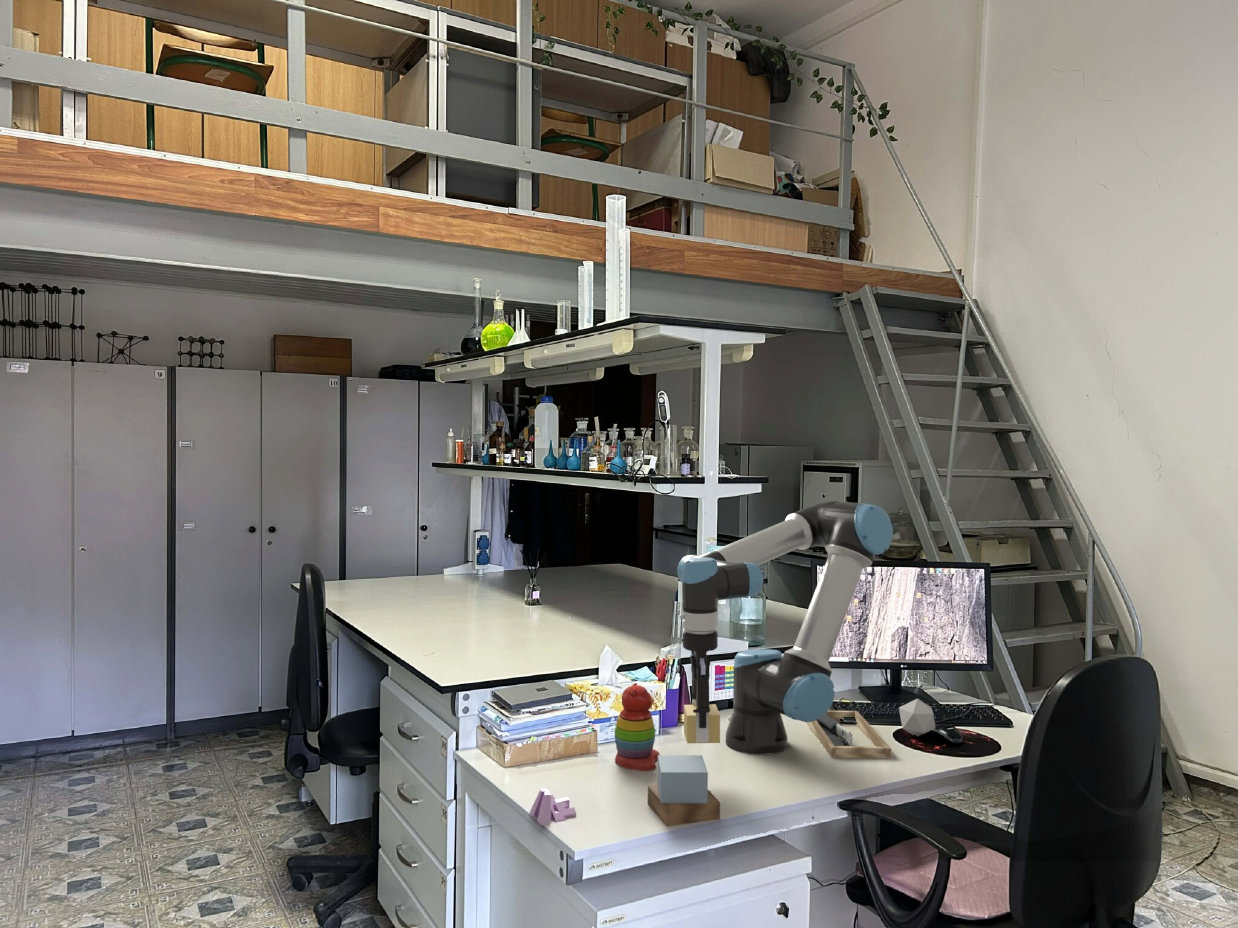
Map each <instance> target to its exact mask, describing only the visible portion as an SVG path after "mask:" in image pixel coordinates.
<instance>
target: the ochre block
mask: <svg viewBox="0 0 1238 928" xmlns="http://www.w3.org/2000/svg"><path fill="white" fill-rule="evenodd" d="M696 708H697V706H696V705H692V704H683V733H684V737H685V740H686V744H721V714H720V711H719V710H718V707H717V704H715V703H714V704H710V703H709V708H710V712H709V742H696V713H693V710H696Z"/></svg>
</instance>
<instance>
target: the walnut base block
mask: <svg viewBox="0 0 1238 928" xmlns="http://www.w3.org/2000/svg"><path fill="white" fill-rule="evenodd" d="M647 805H648V806H649V808H650V809H651V810H652V811H653V812H654V814H655V815H656V816H657V817H658V818H659V820H660V821H661V822H662V823H663V824H664V825H665V826H666V827H671V826H679V825H680V826H681V825H686V824H694V823H702V822H708V821H709V822H710V821H717V820H718V821H719V820H720V819H721V801H720V800H719V799H718V798H717V797H716V796H715V795H714V794H713V793H712V792H711V791H710V790H709V789H708V795H707V803H661V802H660V796H659V791H658V785H657V784H651V785H647Z"/></svg>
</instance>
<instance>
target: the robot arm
mask: <svg viewBox="0 0 1238 928" xmlns="http://www.w3.org/2000/svg"><path fill="white" fill-rule="evenodd" d="M893 531H894V529H893V524H892V523H891V518H890V516H889V515H888V512H887V511H885V509H883V508H882V507H880V506H878V505H876V504H870V503H867V502H862V503H861V502H859V503H858V502H850V501H849V502H848V501H847V502H846V501H837V500H827V501H823V502H819V503H815V504H813V505H810V506H807V507H805V508H803V509H800V510H797V511H794V512H793V513H789V514H788V515H787V516H786V518H785V520H784V521H781V522H779V523H777V524H774V525H771V526H769V527H766V528H765V529H762V530H760V531H757V532H755V533H752V534H750V535H748V536H746V537H743V538H741V539H738V540H737V541H734V542H731V543H729V544H727V545H724V546H722V547H719V548H717V549H715V550H712V551H709V552H707V553H704V554H702V555H698V554H689V555H685V556H683V557H682V558H681V560H680V561H679V562H678V565H677V570H676V571H677V576H678V580H680V582H681V587H682V588H681V593H682V596H681V597H682V614H680V615H679V619H680V620H682V628H683V631H682V648H683V649H685V650H686V651H689V652H690V656H689V657H690V659H689V660H690V665H691V667H690V671H691V689H690V690H691V693H692V694H691V697H692V702H691V705H696V706H697V708H696V710H693V713H696V742H709V712H710V708H709V704H710V666H711V658H709V654H707V653H708V652H710V651H712V652H713V651H714V650H716V649H717V648H718V643H719V642H718V640H719V639H718V638H719V637H718V636H719V635H718V631H717V629H718V628H719V627H718V625H719V618H718V617H719V616H718V615H719V613H718V612H719V611H718V606H719V605H718V603H719V601H723V600H731V599H732V600H733V599H739V598H748V597H752V596H756V595H758V594H759V593H760V592H761V591H762V589H763V586H764V574H763V571H762V569H761V568H760V566H761V565H762V564H765V563H767V562H770V561H772V560H774V559H777V558H779V557H781V556H783V555H786V554H788V553H790V552H794V551H795V550H797V549H798V550H800V551H806V550H807V549H810V548H813V547H824V549H825V551H826V552H827V558H826V562H825V564H824V566H823V569H822V571H821V574H820V576H819V579H818V583H817V584H816V587H815V590H814V592H813V595H812V598H811V601H810V602H809V605H808V609H807V611H806V614H805V616H804V618H803V622H802V624H801V627H800V630H799V632H798V635H797V638H796V639H795V643H794V645H793V647H791V648H789V649H787V650H785V651H784V653H783V655H782V652H781V651H780V650H777V649H766V648H765V649H764V648H763V649H761V648H760V649H758V648H757V649H747V650H743V651H738V652H737V654H736V655H735V656H734V661H733V662H734V663H733V687H732V688H733V693H732V694H733V702H732V703H733V707H732V708H733V709H732V714H731V717H730V720H729V722H728V726H727V727H726V731H725V744H726V745H727V747H729V748H731V749H732V750H736V751H737V752H741V753H746V754H752V755H770V754H771V753H772V754H777V752H778V753H781V752H784V751H785V750H787V748H788V745H789V743H788V742H789V741H788V734H787V731H786V727H785V725H784V724H785V723H784V721H783V718H782V715H784V716H786V717H788V718H789V719H792V720H795V721H800V722H804V723H806V722H813V721H816V720H817V719H820V718H821V717H823V716H824V715H825V714H826V713H827V712H828V711H830V709H831V707H832V705H833V703H834V699H835V690H834V689H835V685H834V684H835V683H834V682H833V681H832V679H831V676H832V673H833V670H832V668H831V666H830V659H831V656H832V653H833V651H834V648H835V645H836V642H837V640H838V637H839V635H840V632H841V629H842V627H843V623H844V621H845V618H846V615H847V613H848V611H849V609H850V605H851V602H852V599H853V597H854V594H855V592H856V588H857V586H858V583H859V581H860V578H861V575H862V572H863V570H864V569H866V568H868V567H871V566H872V565H873V562H874V559H875V557H876V556H879V555H881V554H883V553H885V552H887V551H888V549H889V548H890V546H891V544H892V541H893V534H894V533H893ZM780 751H781V752H780Z"/></svg>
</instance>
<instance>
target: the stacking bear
mask: <svg viewBox="0 0 1238 928" xmlns="http://www.w3.org/2000/svg"><path fill="white" fill-rule="evenodd" d="M654 702H655V699H654V697H653V696H652V695H651V694H650V692H649V691H648V690H647V688H646V687H645V686H642V685H638V683H637V682H634V683H633V684H632V685H631V686H628V687H626V688H625V689H624V690H623V692H622V695H621V703H622V704H621V705H622V706H623V709H622V710H621V711H620V713H619V714H618V716H617V719H616V723H615V729H614V741H615V745H616V752H617V753H616V755H615V758H614V762H615V763H616V765H618V766H619V765H620V767H622V766H623V767H622V768H624V767H625V769H628V768H629V770H633V769H635V770H634V771H641V772H643V771H644V772H649V771H654V770H655V769H657V768H656V763H655V762H656V761H658V755H660V752H659V750H656V749H655V748H654V745H655V740H656V729H655V723H654V719H653V716H652V712H651V711H650V709H651V708H652V706H653V705H654Z"/></svg>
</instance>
